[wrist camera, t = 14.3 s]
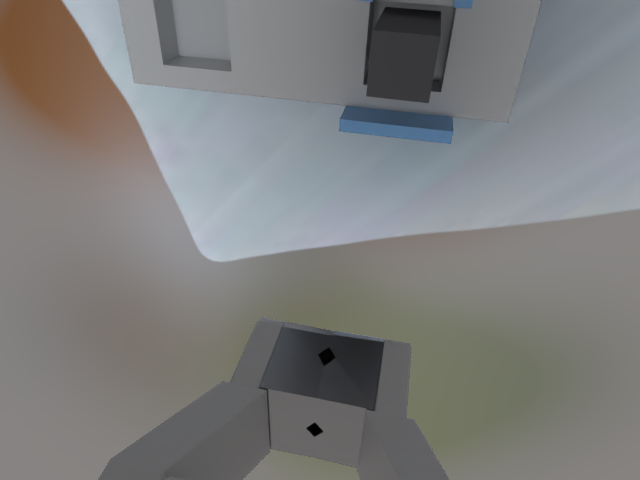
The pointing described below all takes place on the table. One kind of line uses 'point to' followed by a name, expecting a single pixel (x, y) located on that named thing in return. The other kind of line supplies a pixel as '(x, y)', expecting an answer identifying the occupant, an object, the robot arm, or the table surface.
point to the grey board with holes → (333, 56)
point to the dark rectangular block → (404, 54)
